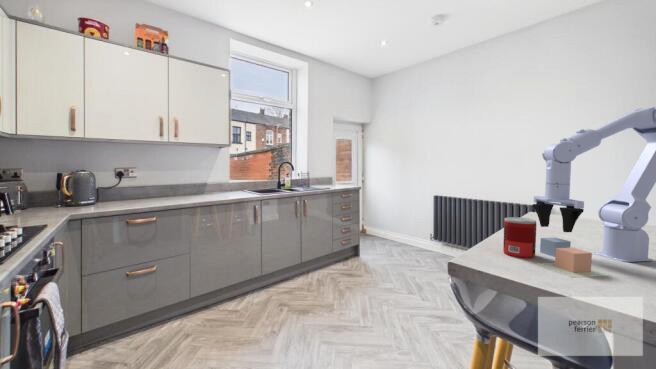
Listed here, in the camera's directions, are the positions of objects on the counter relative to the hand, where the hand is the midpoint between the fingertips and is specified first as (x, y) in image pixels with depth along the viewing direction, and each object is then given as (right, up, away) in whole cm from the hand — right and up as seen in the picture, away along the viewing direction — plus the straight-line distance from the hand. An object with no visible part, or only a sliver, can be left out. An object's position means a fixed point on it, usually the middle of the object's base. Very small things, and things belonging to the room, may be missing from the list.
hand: (555, 229), depth 86 cm
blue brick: (0, -8, 0) cm, 8 cm away
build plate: (-5, -9, -12) cm, 16 cm away
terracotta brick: (-5, -8, -12) cm, 16 cm away
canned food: (-11, -8, 0) cm, 14 cm away
